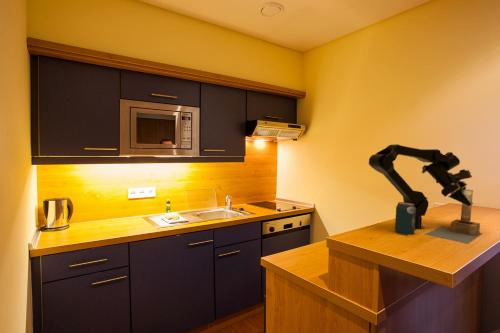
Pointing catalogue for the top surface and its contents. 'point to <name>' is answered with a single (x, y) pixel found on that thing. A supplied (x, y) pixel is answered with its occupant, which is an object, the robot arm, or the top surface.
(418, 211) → the robot arm
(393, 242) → the top surface
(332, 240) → the top surface
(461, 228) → the hole block
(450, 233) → the mat
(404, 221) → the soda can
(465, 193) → the peg
